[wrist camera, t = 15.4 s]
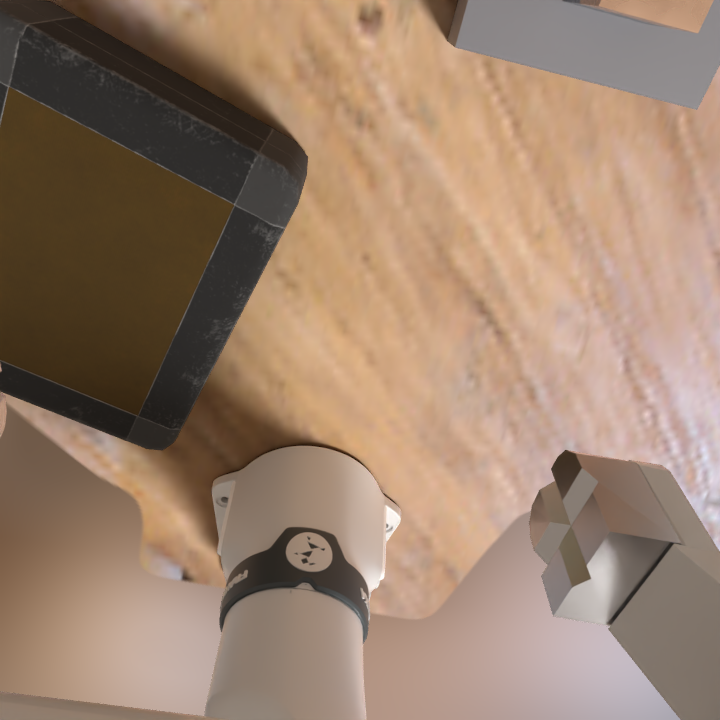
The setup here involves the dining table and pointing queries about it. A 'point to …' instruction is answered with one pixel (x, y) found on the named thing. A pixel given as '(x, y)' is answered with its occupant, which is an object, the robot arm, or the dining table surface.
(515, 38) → the stand
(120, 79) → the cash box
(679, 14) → the block
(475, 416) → the dining table surface
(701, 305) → the dining table surface
